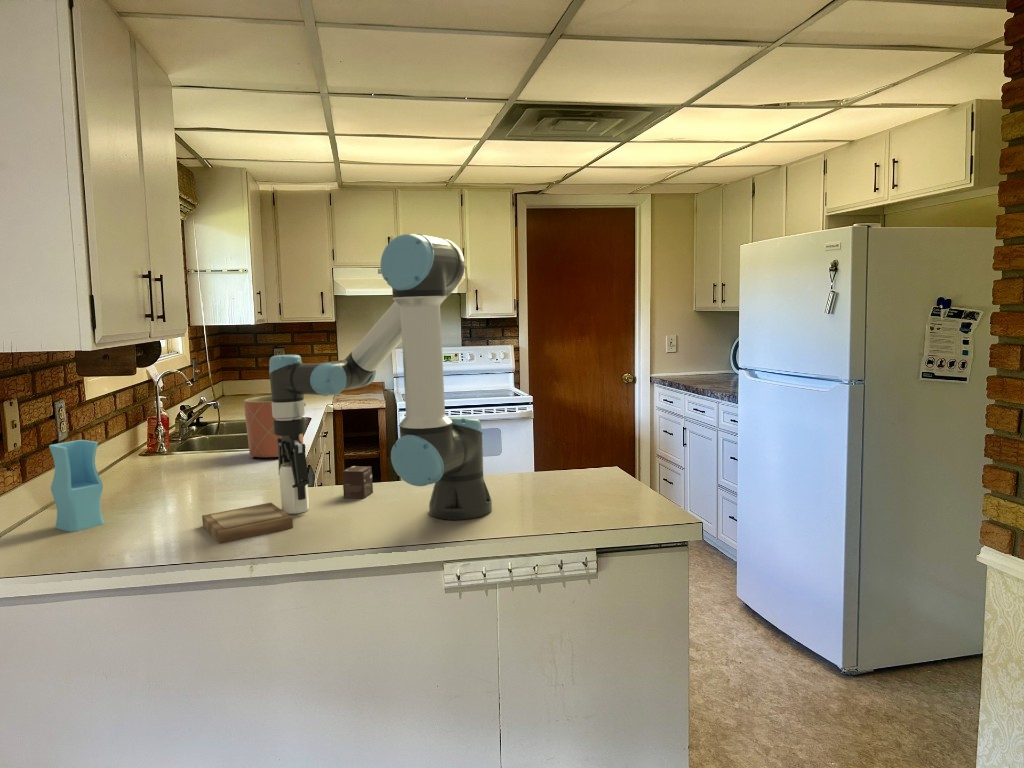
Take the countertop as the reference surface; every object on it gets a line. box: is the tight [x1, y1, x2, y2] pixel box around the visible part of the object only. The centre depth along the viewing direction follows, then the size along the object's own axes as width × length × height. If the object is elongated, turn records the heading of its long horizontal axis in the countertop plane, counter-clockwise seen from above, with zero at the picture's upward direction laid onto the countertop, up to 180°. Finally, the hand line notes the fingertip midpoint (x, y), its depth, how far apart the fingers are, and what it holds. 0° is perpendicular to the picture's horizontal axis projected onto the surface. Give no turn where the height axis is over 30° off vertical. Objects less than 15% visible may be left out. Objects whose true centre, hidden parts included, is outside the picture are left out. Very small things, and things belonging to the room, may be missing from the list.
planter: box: [243, 394, 304, 460], centre depth 241 cm, size 19×19×20 cm
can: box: [278, 462, 310, 515], centre depth 172 cm, size 6×6×12 cm
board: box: [201, 502, 294, 544], centre depth 161 cm, size 16×16×3 cm
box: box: [341, 465, 374, 499], centre depth 185 cm, size 6×6×7 cm
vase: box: [48, 439, 105, 533], centre depth 165 cm, size 8×8×20 cm
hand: (295, 508), depth 172 cm, fingers open, 8 cm apart
